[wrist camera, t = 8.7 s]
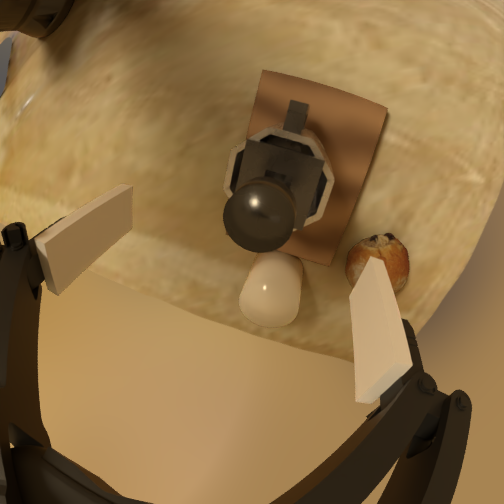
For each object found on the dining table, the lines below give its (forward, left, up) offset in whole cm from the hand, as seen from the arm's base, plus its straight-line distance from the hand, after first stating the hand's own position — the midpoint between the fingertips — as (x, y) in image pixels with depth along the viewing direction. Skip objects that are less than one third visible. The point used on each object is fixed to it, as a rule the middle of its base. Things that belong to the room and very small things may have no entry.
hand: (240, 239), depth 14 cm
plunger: (0, 0, -21) cm, 21 cm away
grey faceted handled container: (-1, 0, -23) cm, 23 cm away
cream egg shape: (+17, +3, -24) cm, 30 cm away
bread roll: (+10, +17, -25) cm, 32 cm away
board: (+1, +2, -24) cm, 24 cm away
